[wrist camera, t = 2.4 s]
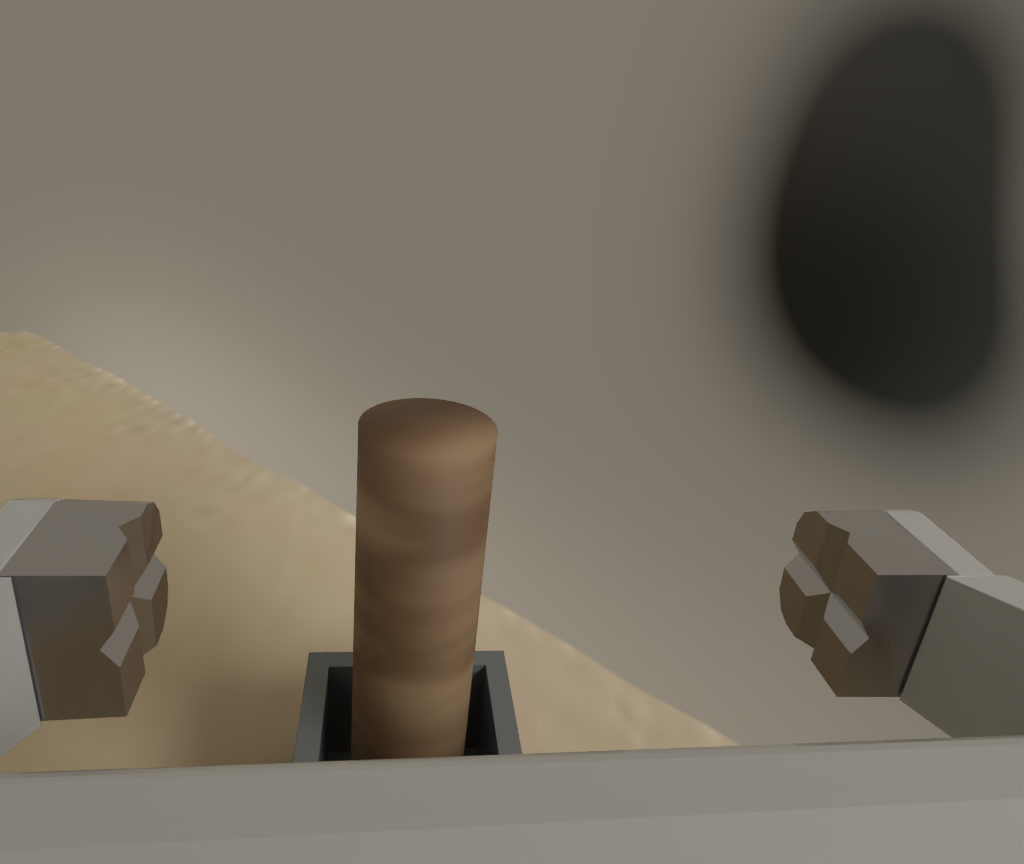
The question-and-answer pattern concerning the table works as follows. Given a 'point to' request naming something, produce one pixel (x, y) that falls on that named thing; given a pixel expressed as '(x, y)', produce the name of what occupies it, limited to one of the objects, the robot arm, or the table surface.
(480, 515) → the dowel
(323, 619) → the table surface
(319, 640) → the table surface
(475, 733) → the grey square sleeve
